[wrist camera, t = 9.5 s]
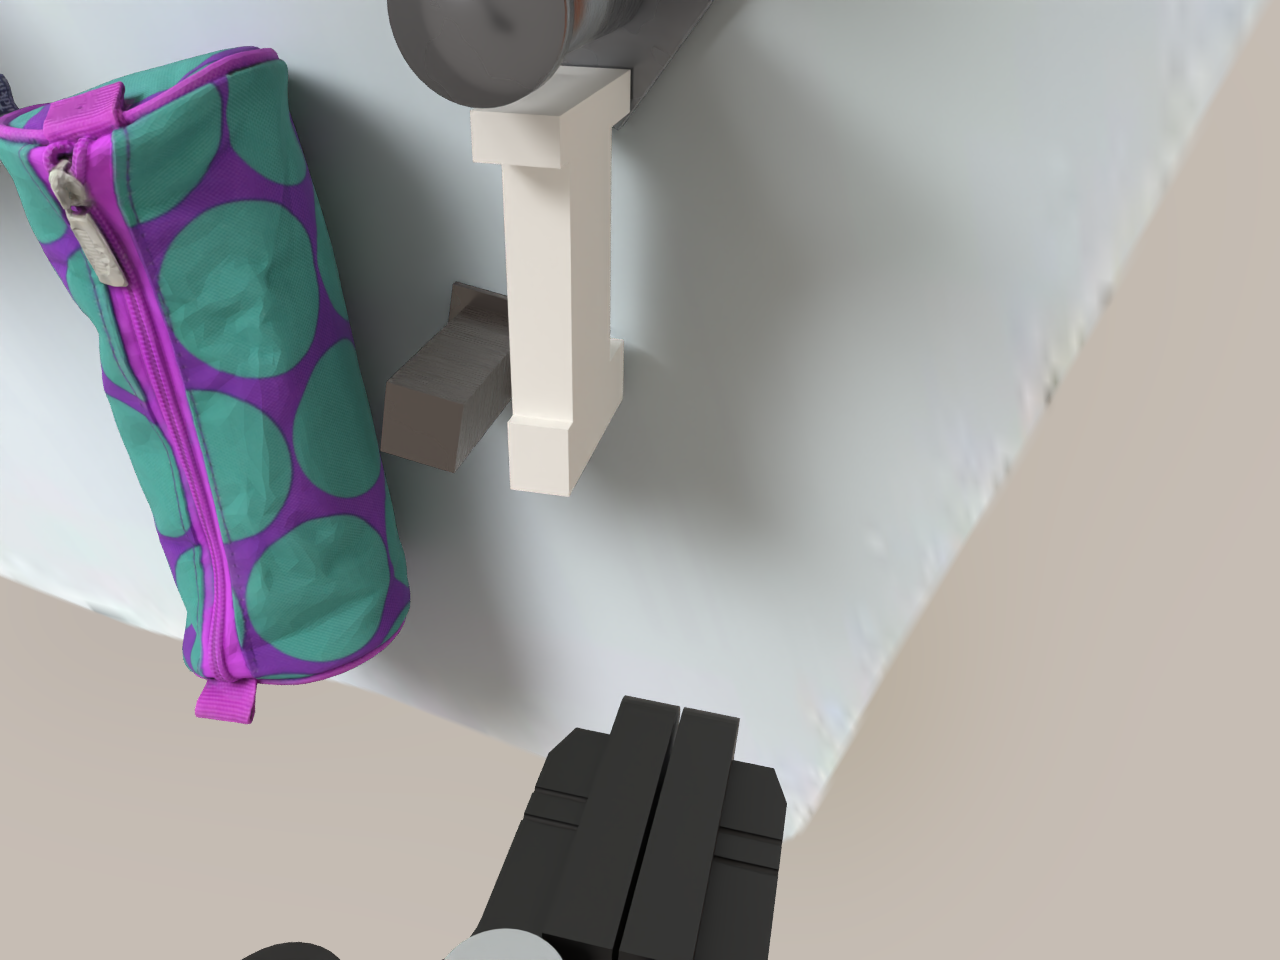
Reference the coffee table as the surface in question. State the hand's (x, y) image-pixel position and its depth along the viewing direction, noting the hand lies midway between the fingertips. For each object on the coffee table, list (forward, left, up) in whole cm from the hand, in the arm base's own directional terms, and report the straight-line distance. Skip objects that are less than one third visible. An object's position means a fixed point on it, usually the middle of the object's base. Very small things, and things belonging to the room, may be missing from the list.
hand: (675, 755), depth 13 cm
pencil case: (-17, -9, -23) cm, 30 cm away
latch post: (-10, -6, -23) cm, 26 cm away
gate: (-7, -2, -22) cm, 23 cm away
